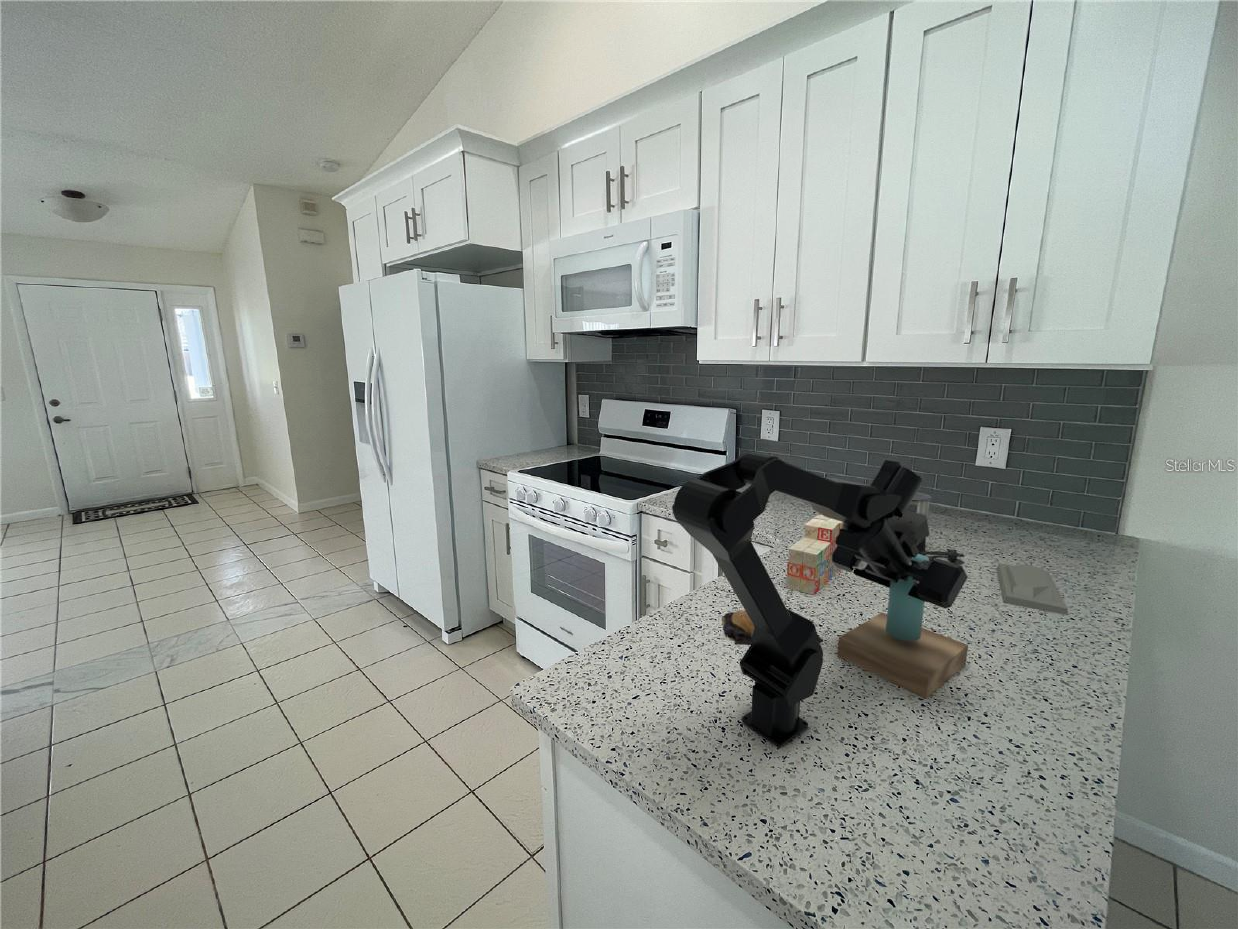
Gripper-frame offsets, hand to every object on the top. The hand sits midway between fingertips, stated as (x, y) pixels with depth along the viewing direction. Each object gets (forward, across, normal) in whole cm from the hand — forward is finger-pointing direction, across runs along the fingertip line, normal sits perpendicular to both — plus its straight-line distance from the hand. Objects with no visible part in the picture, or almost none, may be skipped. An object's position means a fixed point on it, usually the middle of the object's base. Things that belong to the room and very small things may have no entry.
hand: (911, 593), depth 84 cm
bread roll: (-2, +21, +20) cm, 29 cm away
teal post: (+4, 0, +6) cm, 7 cm away
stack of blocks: (+19, +30, -3) cm, 36 cm away
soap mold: (+42, +1, -25) cm, 48 cm away
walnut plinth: (+7, 0, +9) cm, 12 cm away
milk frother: (+42, +24, -26) cm, 55 cm away
